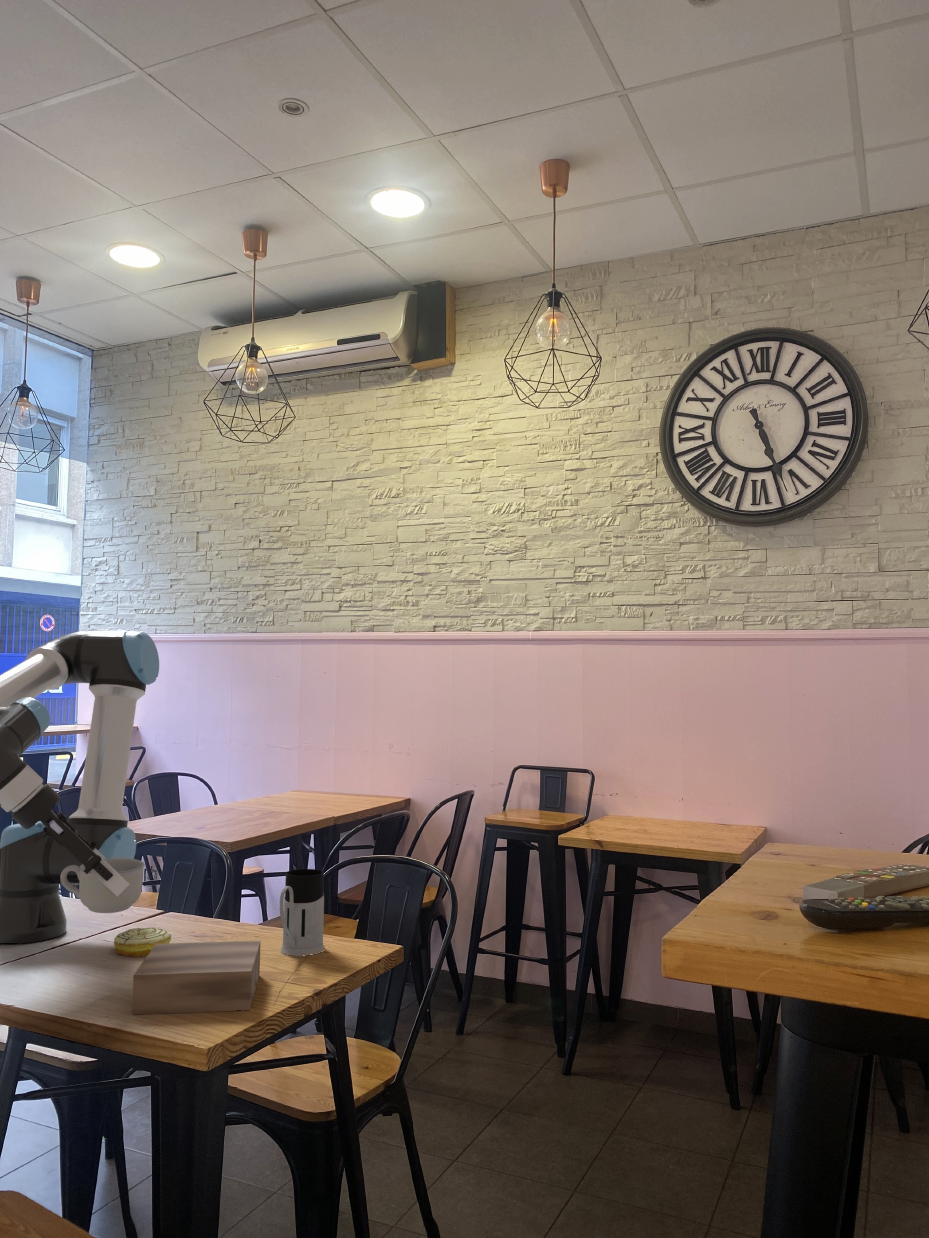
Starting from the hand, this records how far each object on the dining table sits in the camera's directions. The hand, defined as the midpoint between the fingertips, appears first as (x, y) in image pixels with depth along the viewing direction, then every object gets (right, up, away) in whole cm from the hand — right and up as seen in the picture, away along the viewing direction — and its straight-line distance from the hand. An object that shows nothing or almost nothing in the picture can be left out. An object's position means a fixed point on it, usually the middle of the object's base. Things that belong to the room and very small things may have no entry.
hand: (119, 883), depth 156 cm
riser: (+17, -16, -9) cm, 25 cm away
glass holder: (+29, -18, +14) cm, 37 cm away
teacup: (-3, -4, -1) cm, 5 cm away
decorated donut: (-2, -18, +16) cm, 24 cm away
